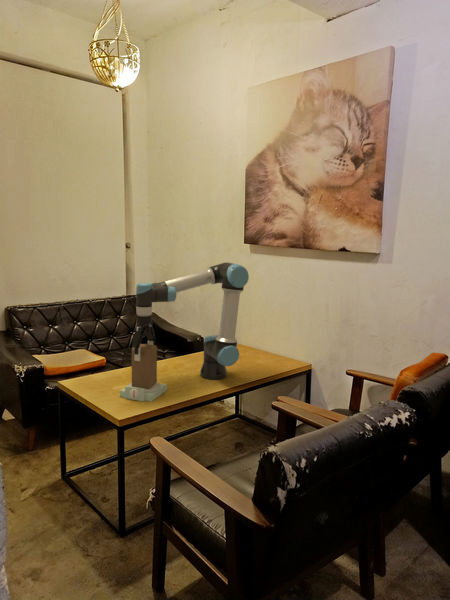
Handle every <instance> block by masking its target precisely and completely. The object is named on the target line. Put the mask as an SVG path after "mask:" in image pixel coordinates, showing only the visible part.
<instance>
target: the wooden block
mask: <svg viewBox="0 0 450 600" xmlns="http://www.w3.org/2000/svg"><path fill="white" fill-rule="evenodd" d="M157 346H158V345H155V344H153V345H148V343H147V344H144V343H141V344H140V346H139V347H140V361H134V347H132V348H131V383H132V387H138V388H145V389H150V388H151V387H152V386H154V385H155V384H156V382H158V381H157V380H158V373H157V371H158V370H157V367H158V363H157V362H158V347H157Z"/></svg>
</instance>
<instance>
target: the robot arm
mask: <svg viewBox="0 0 450 600" xmlns="http://www.w3.org/2000/svg"><path fill="white" fill-rule="evenodd" d="M249 276H250V275H249V272H248V269H247V268H246V267H245V266H243V265H242V264H239V263H232V262H222V263H219V264H216V265H212V266H209V267H207V268H206V269H204V270H202V271H197V272H193V273H191V274H187V275H183V276H179V277H178V276H177V277H176V278H172V279H167V280H165V281H160V282H152V283H151V282H139V283H137V284H136V290H135V291H136V292H135V294H136V295H135V296H136V299H135V301H136V304H135V305H136V307H135V310H136V315H135V316H136V318H135V319H136V320H135V321H136V323H137V324H138V326H135V327H134V334H133V338H132V343H131V347H132V348H134V361H140V347H139V346H140V344H142V340H143V338H144V337H145V336H146V338H147V345H154V342H155V341H156V334H155V330H154V323H153V303H170V302H175V301H176V299H177V293H180V292H184V291H187V290H190V289H194V288H198V287H201V286H205V285H206V286H207V285H209V284H211V285H215V284H221V290H223V296H222V307H221V314H220V323H219V324H220V325H219V333H218V334H217V335H216V334H215V335H207V336H205V337H203V339H204V340H203V363H202V365H201V368H200V372H199V373H200V374H199V376H200V377H201V378H203V379H207V380H222V379H225V378H227V377H228V376H227V375H228V373H227V371H228V370H227V368H226V367H231V366H233V365H235V364H236V363H237V362H238V360H239V358H240V351H239V349H238V340H237V338H236V331H237V324H238V323H237V321H238V313H239V306H240V299H241V298H240V296H241V293H242V292H244V289H245V286H246V285H247V284H248V281H249Z"/></svg>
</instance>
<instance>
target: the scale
mask: <svg viewBox="0 0 450 600" xmlns="http://www.w3.org/2000/svg"><path fill="white" fill-rule="evenodd" d="M167 387H168V385H167V384H166V383H161V382H160V383H159V382H158V381H157V382H156V384H155V385H154V386H152V387H151V388H150V389H145V388H138V387H132V382H130V383H128V384H127V385H126V386H124V388H122V389H120V390H119V397H121V398H125V399H126V400H133V401H137V402H138V401H139V402H145V401H147V402H151V403H152V402H153V401H155V400H156V399H157V398H158V397H160V396H161V395H162V394H163V393H165V392H167V390H168V388H167Z"/></svg>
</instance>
